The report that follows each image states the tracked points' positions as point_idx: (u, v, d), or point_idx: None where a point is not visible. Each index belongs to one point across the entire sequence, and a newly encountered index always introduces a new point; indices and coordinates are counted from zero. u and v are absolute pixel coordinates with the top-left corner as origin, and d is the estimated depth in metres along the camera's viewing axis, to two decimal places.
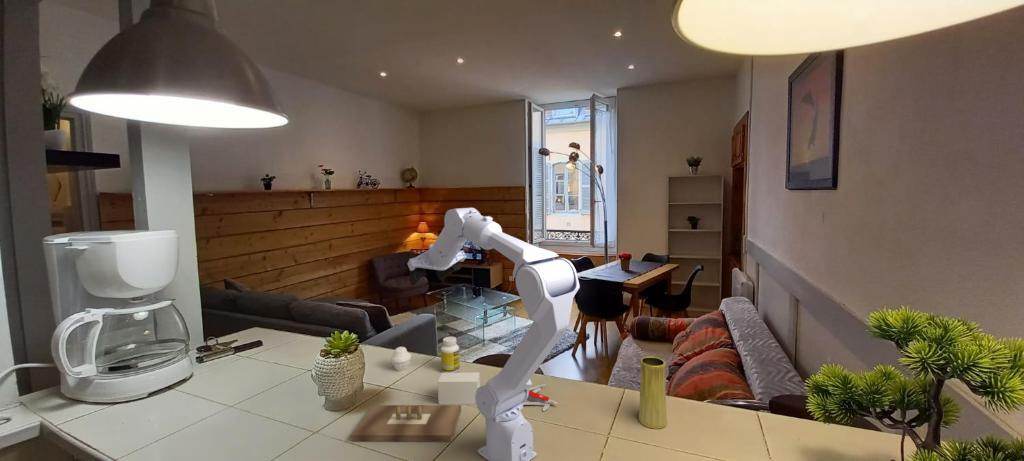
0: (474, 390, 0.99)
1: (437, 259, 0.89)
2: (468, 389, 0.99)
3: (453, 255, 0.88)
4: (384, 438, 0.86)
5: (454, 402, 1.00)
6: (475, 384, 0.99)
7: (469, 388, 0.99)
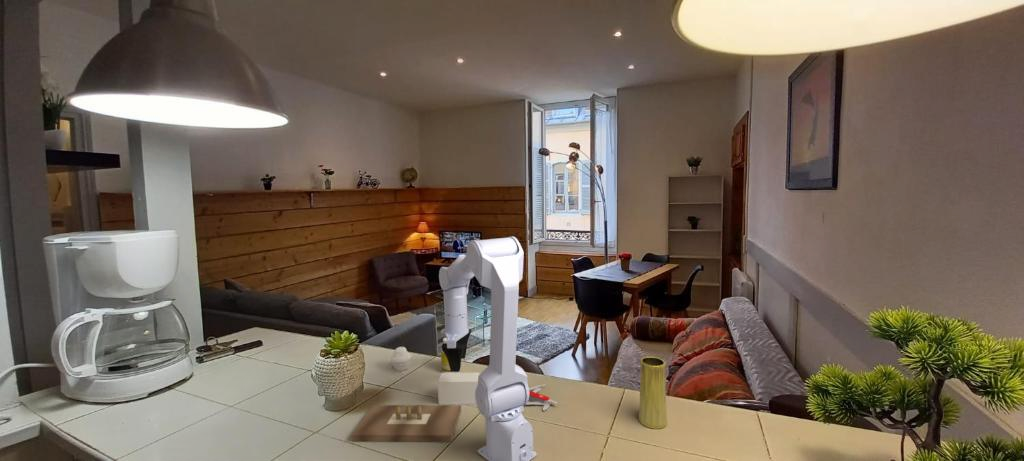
0: (474, 390, 0.99)
1: (461, 324, 0.98)
2: (468, 389, 0.99)
3: (460, 313, 0.98)
4: (384, 438, 0.86)
5: (454, 402, 1.00)
6: (475, 384, 0.99)
7: (469, 388, 0.99)
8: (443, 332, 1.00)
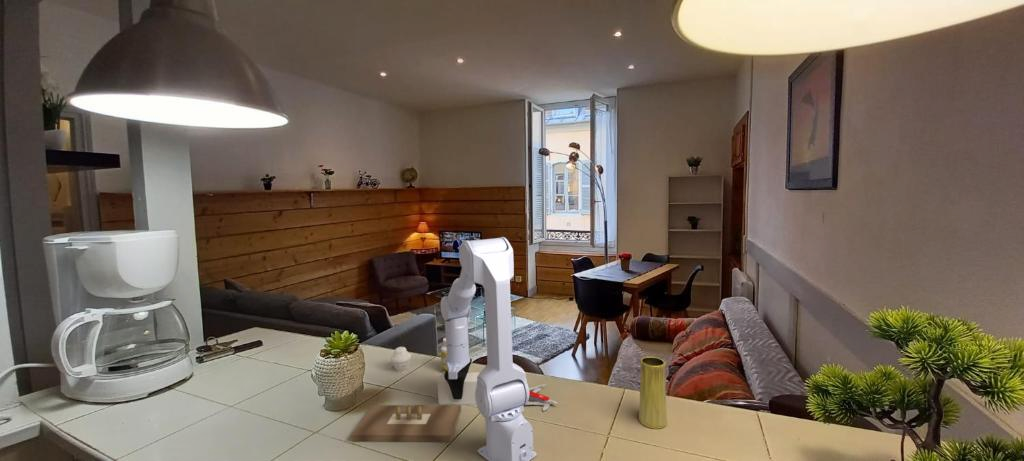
0: (474, 390, 0.99)
1: (462, 354, 0.99)
2: (468, 389, 0.99)
3: (461, 343, 0.99)
4: (384, 438, 0.86)
5: (454, 402, 1.00)
6: (475, 384, 0.99)
7: (469, 388, 0.99)
8: (445, 361, 1.01)
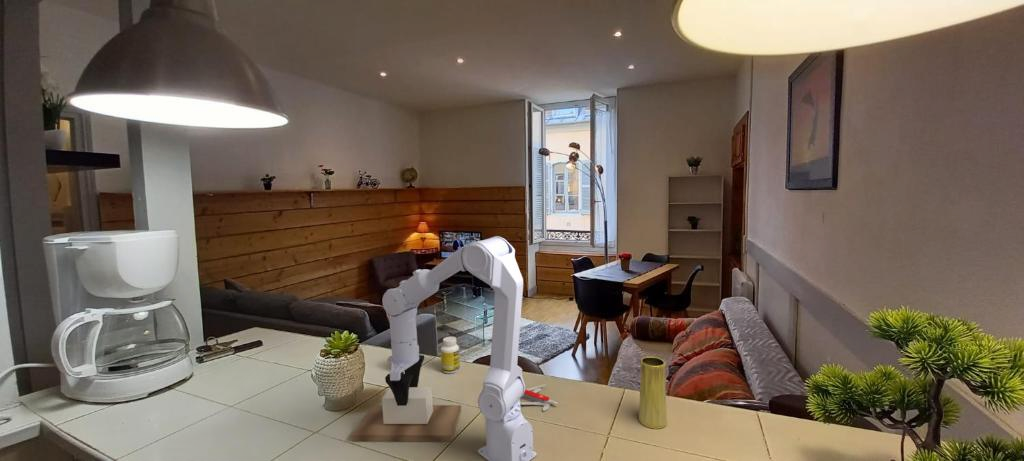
0: (423, 408, 0.88)
1: (408, 352, 0.87)
2: (416, 407, 0.88)
3: (414, 337, 0.89)
4: (384, 438, 0.86)
5: (401, 421, 0.89)
6: (424, 401, 0.88)
7: (417, 405, 0.88)
8: (390, 360, 0.89)
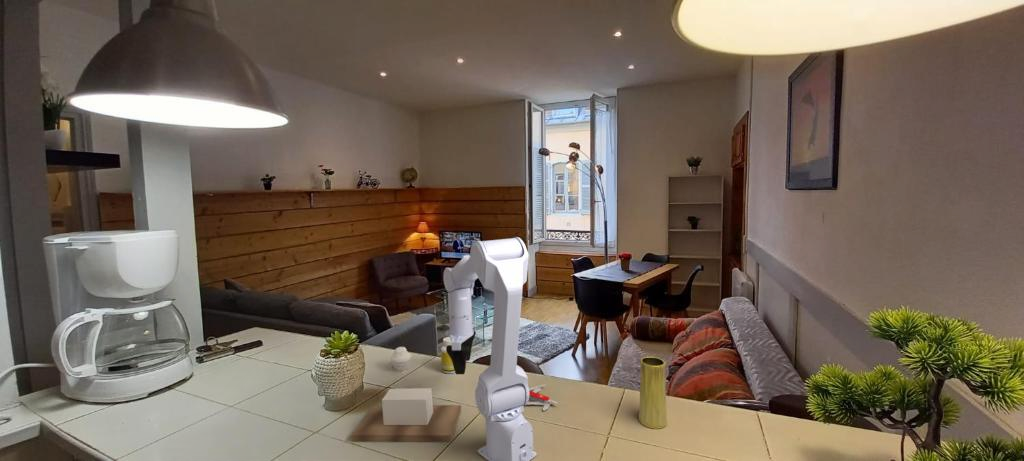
0: (423, 409, 0.88)
1: (465, 326, 0.97)
2: (416, 408, 0.88)
3: (465, 315, 0.96)
4: (384, 438, 0.86)
5: (401, 423, 0.89)
6: (424, 402, 0.88)
7: (417, 407, 0.88)
8: (447, 334, 0.98)
